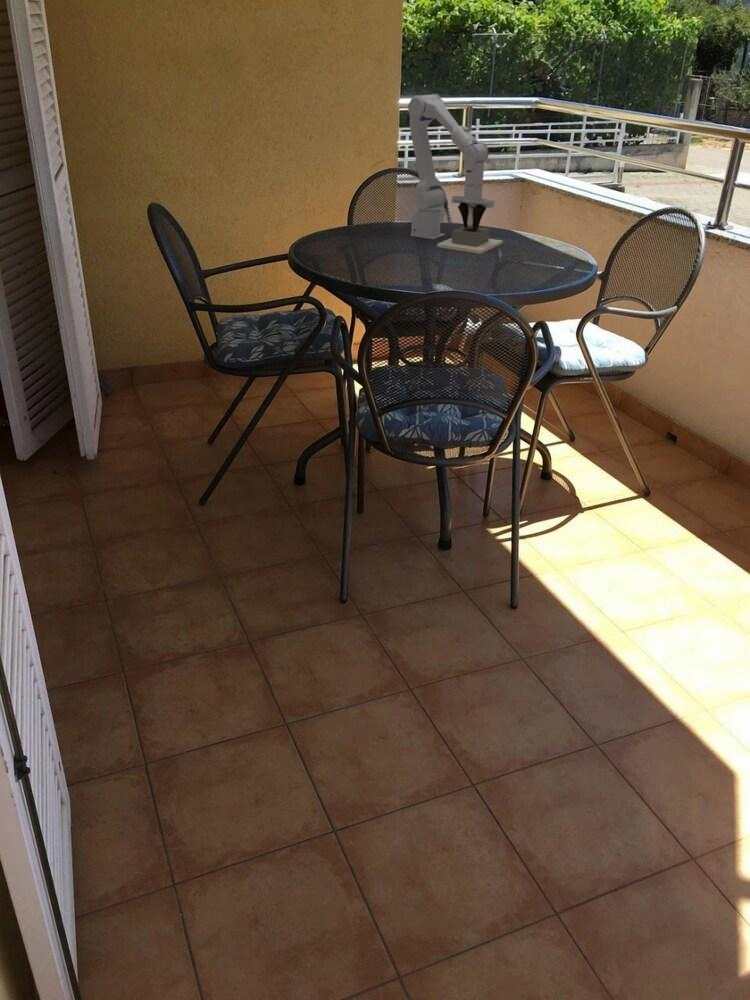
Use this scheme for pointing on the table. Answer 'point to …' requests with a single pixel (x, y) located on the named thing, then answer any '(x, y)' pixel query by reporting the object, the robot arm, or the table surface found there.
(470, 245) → the socket block on plate
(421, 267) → the table surface
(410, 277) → the table surface
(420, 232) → the robot arm
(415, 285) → the table surface
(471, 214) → the steel pin
